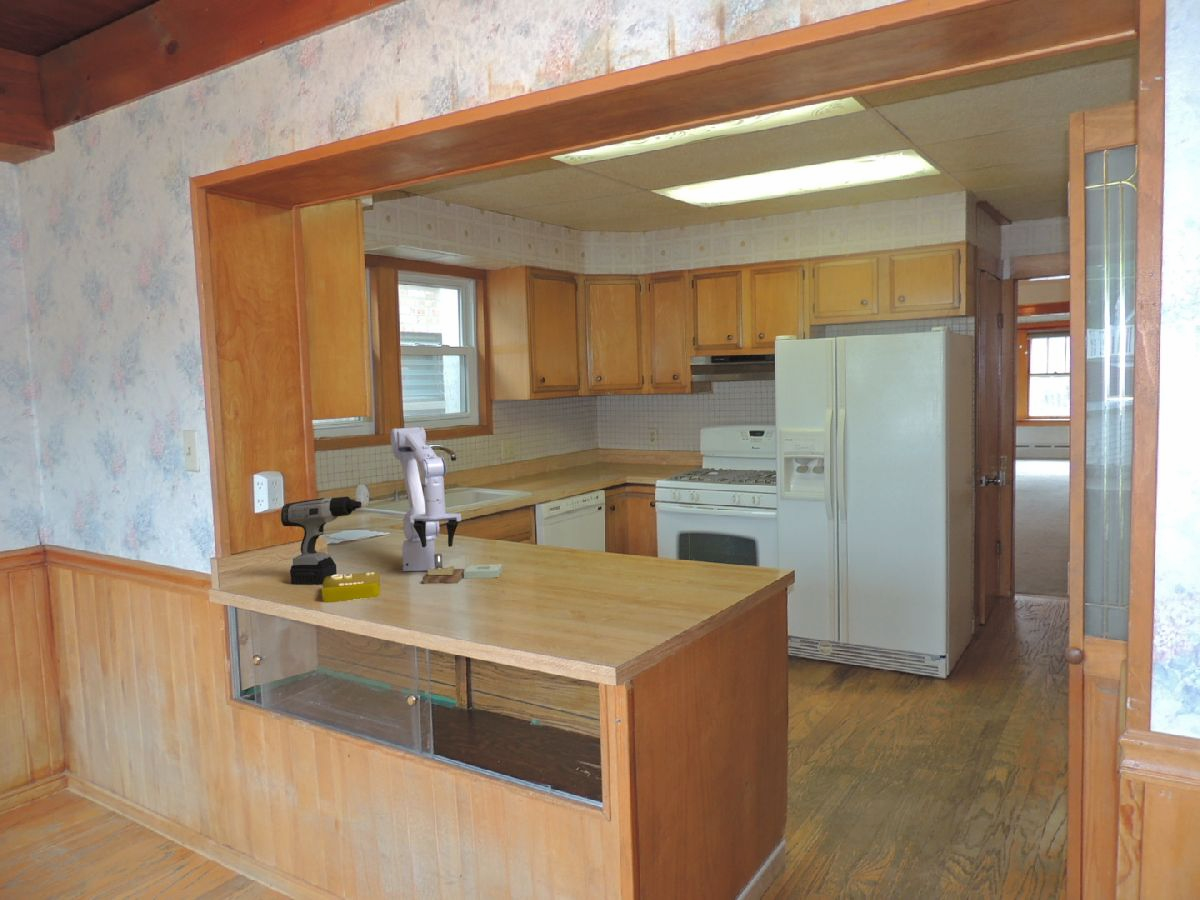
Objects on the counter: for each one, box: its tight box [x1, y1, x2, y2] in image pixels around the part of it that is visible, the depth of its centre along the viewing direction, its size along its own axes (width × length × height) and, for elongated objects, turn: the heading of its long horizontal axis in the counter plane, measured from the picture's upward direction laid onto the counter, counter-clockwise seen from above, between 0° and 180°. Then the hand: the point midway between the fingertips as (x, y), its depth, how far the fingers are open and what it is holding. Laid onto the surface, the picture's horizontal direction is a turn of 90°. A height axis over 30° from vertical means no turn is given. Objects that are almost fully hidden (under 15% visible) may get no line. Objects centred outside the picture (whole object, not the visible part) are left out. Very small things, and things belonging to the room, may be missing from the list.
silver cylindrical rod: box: [434, 553, 444, 568], centre depth 249 cm, size 2×2×7 cm
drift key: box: [427, 565, 455, 575], centre depth 243 cm, size 7×2×2 cm, turn 87°
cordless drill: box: [280, 496, 362, 585], centre depth 249 cm, size 8×24×25 cm, turn 78°
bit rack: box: [463, 563, 504, 579], centre depth 251 cm, size 10×8×2 cm
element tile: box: [321, 571, 382, 604], centre depth 235 cm, size 15×15×5 cm
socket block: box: [422, 568, 466, 584], centre depth 247 cm, size 10×9×2 cm
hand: (437, 546), depth 248 cm, fingers open, 7 cm apart
